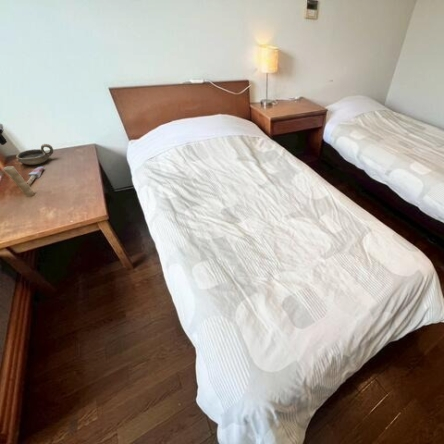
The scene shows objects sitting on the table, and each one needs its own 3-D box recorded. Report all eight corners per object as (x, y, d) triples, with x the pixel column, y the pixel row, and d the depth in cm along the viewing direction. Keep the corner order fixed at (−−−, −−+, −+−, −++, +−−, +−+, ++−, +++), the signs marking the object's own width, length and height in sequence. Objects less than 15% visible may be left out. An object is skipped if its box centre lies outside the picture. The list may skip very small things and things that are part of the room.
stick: (24, 197, 126) (1, 170, 115) (28, 193, 128) (5, 166, 117) (33, 196, 127) (11, 169, 116) (36, 192, 129) (15, 165, 118)
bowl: (22, 160, 149) (10, 144, 143) (58, 153, 158) (49, 139, 151) (21, 170, 142) (9, 155, 135) (59, 163, 150) (49, 148, 143)
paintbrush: (43, 164, 143) (28, 185, 130) (46, 168, 145) (31, 189, 132) (35, 164, 142) (19, 185, 129) (38, 168, 144) (22, 189, 131)
